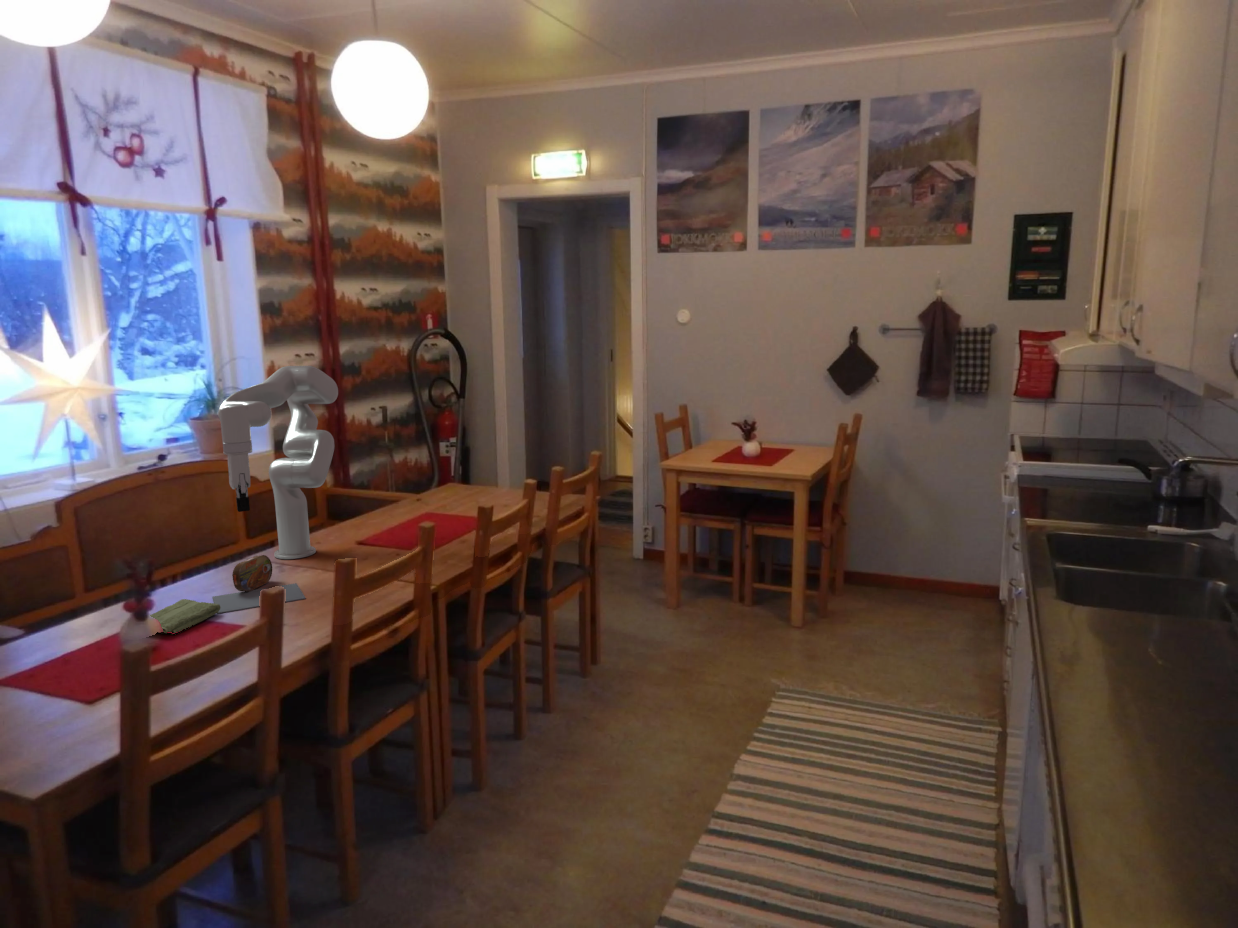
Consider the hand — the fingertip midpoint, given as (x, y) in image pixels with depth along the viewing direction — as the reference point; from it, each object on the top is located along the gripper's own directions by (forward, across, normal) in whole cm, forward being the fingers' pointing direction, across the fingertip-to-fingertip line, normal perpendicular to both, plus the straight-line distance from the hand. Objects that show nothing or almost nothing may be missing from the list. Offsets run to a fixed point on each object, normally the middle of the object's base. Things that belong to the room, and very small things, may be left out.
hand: (243, 510), depth 244 cm
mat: (+21, +18, 0) cm, 28 cm away
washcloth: (+21, +28, -20) cm, 40 cm away
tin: (+21, +8, 0) cm, 23 cm away
